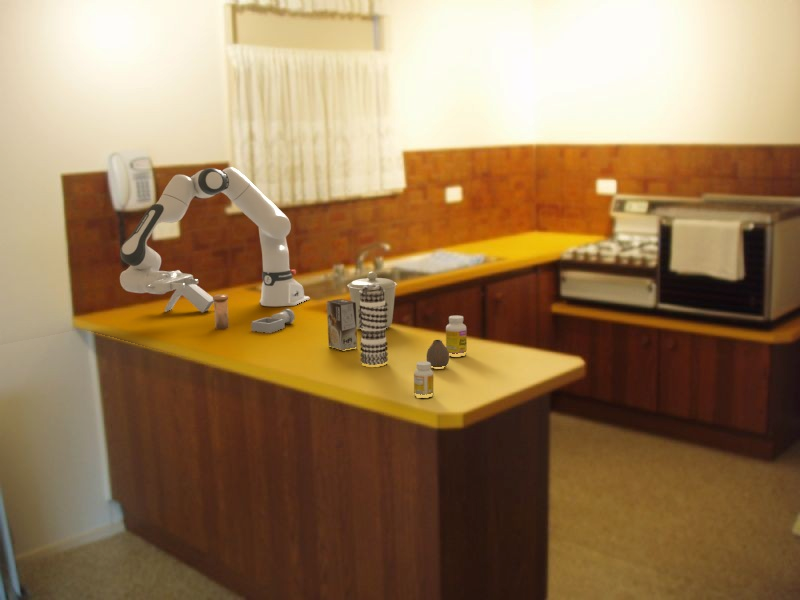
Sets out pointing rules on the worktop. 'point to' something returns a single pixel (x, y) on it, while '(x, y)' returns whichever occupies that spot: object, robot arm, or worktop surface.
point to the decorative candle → (373, 325)
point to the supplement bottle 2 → (456, 335)
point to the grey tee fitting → (273, 322)
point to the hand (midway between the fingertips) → (190, 283)
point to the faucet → (191, 297)
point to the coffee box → (342, 324)
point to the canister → (372, 280)
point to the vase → (437, 354)
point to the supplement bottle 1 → (423, 378)
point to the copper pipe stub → (221, 311)
